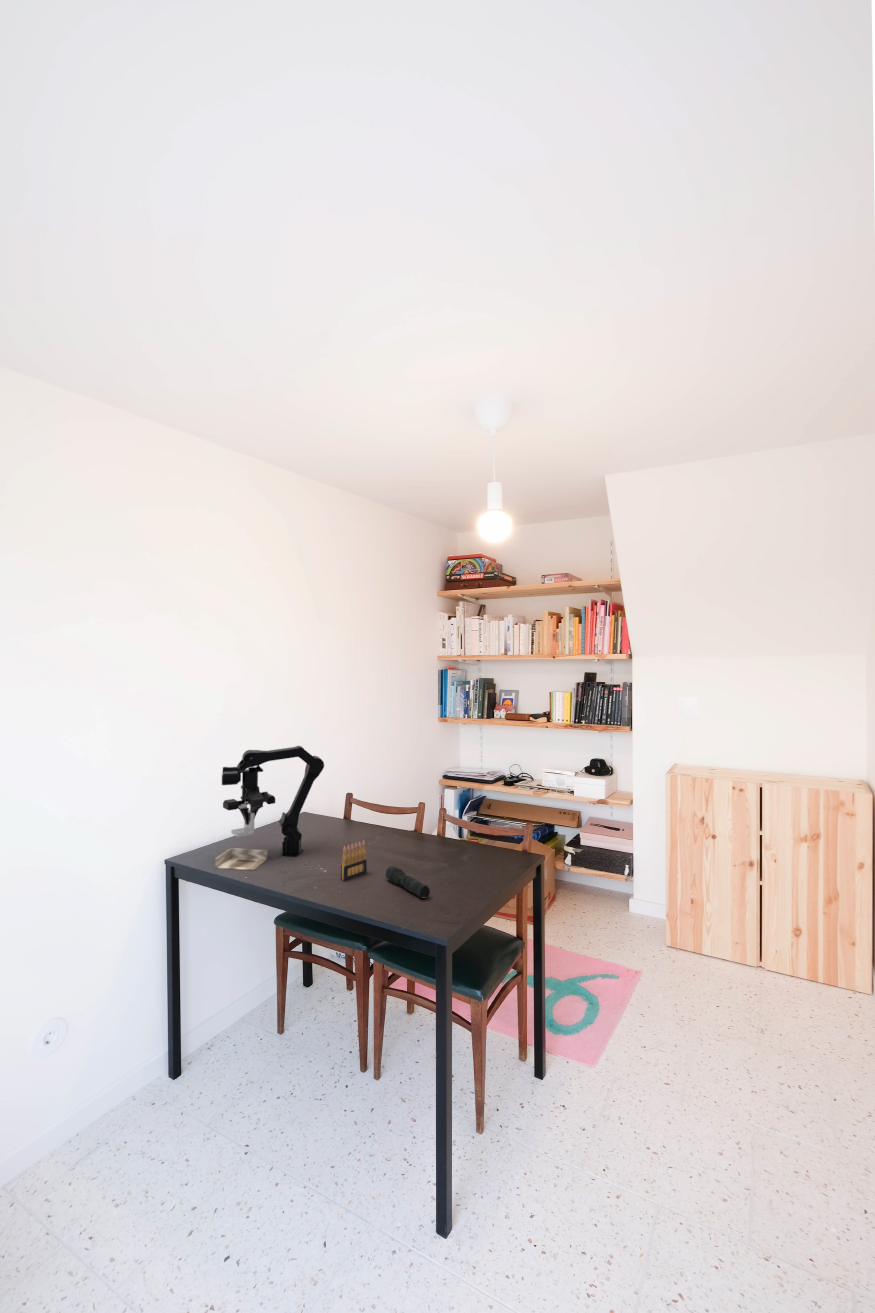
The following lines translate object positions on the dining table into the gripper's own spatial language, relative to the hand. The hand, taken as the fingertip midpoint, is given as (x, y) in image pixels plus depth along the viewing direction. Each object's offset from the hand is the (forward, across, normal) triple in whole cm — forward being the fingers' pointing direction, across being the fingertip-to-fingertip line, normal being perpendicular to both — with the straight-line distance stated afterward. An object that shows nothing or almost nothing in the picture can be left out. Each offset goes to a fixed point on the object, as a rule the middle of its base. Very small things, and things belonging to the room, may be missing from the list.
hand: (249, 824), depth 225 cm
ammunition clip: (+13, +22, -40) cm, 48 cm away
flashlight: (+13, +30, -61) cm, 69 cm away
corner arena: (+13, -4, -4) cm, 14 cm away
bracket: (+3, -2, 0) cm, 4 cm away
